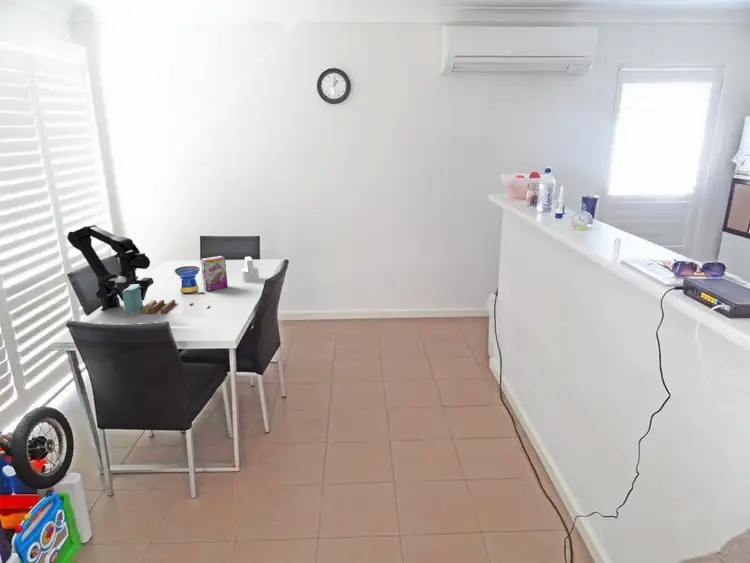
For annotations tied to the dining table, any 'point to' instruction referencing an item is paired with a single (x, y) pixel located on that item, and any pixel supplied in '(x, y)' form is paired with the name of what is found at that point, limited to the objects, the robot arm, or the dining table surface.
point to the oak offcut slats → (149, 306)
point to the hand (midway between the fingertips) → (133, 300)
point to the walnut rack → (161, 308)
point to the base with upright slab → (249, 271)
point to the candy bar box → (214, 273)
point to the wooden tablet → (198, 294)
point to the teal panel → (132, 299)
